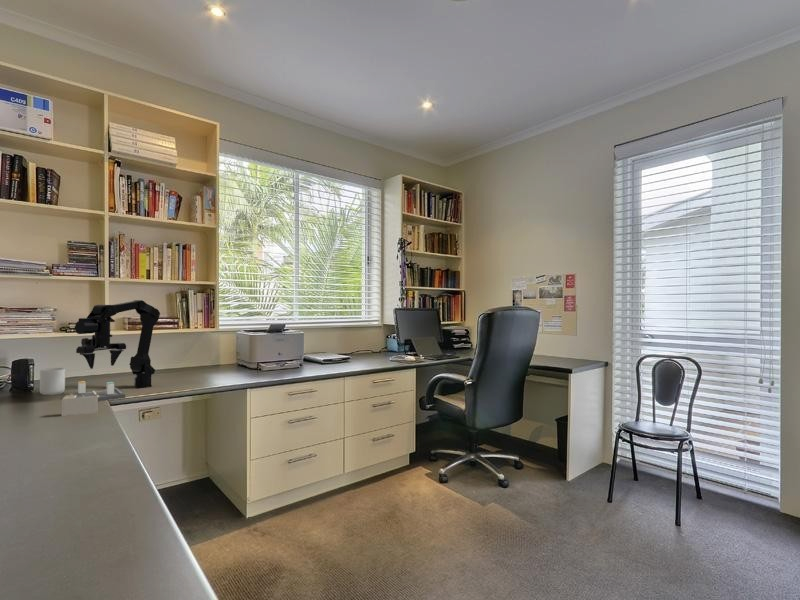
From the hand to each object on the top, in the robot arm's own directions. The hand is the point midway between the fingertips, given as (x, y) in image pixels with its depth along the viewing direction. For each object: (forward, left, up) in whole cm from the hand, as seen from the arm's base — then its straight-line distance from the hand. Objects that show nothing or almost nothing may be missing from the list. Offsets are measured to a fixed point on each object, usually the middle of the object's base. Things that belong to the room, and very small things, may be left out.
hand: (102, 367), depth 185 cm
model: (+10, +32, -14) cm, 36 cm away
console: (+2, +3, -13) cm, 13 cm away
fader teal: (-2, +8, -11) cm, 14 cm away
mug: (+16, -21, -13) cm, 29 cm away
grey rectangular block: (+7, -2, -11) cm, 13 cm away
